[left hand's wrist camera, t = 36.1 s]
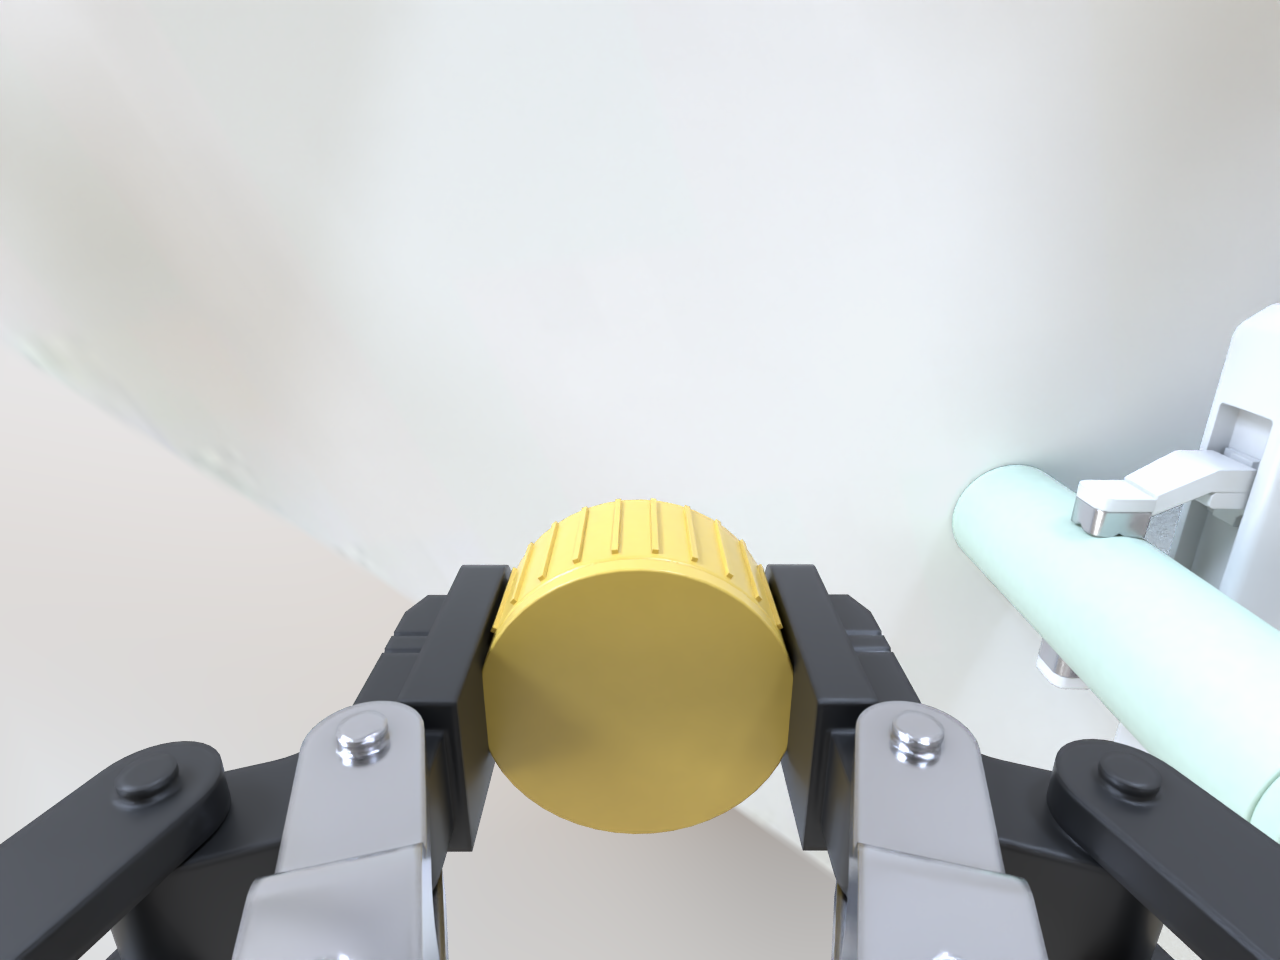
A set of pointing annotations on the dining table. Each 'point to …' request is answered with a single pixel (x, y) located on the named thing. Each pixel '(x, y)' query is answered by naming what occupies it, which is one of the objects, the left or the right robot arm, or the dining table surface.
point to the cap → (637, 670)
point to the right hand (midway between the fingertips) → (1063, 587)
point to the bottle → (1138, 636)
